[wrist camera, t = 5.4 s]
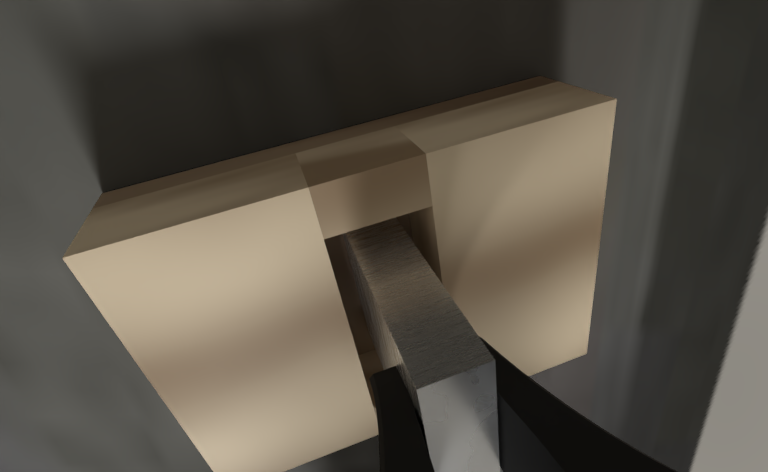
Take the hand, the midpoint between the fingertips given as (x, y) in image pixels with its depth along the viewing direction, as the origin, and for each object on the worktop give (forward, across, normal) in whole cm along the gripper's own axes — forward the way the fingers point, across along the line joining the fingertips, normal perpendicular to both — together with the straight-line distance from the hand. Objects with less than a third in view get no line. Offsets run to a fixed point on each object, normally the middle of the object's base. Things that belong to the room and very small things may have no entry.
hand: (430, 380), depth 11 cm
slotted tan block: (+6, 0, 0) cm, 6 cm away
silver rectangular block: (+5, 0, 0) cm, 5 cm away
